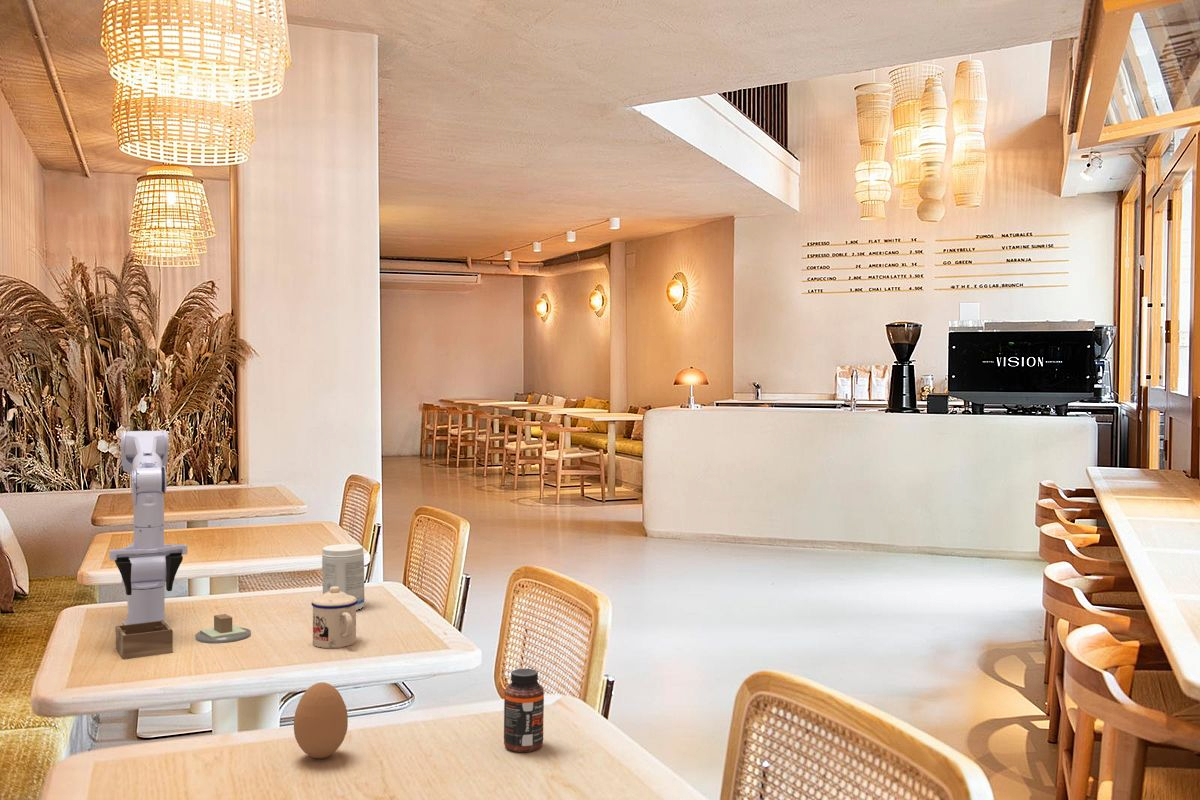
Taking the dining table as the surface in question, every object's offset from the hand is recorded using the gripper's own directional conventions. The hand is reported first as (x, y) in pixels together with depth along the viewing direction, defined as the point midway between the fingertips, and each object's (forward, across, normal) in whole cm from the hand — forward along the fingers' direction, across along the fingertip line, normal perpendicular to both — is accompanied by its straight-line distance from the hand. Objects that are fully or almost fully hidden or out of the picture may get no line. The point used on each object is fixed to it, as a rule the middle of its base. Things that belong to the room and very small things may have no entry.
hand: (149, 592), depth 210 cm
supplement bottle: (+13, +36, -91) cm, 99 cm away
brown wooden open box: (+10, -2, -5) cm, 12 cm away
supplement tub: (+10, +44, +9) cm, 46 cm away
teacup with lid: (+11, +32, -21) cm, 40 cm away
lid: (+10, +14, -2) cm, 17 cm away
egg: (+12, +9, -79) cm, 81 cm away
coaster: (+10, +14, -2) cm, 18 cm away
